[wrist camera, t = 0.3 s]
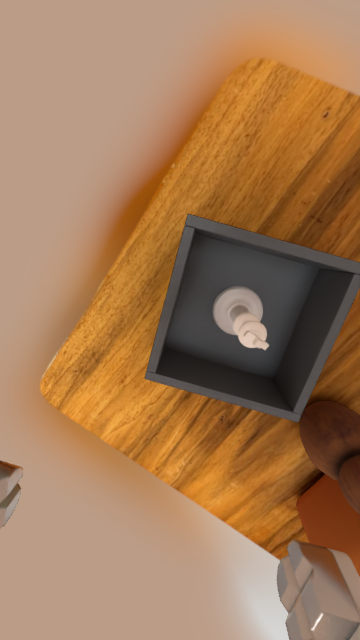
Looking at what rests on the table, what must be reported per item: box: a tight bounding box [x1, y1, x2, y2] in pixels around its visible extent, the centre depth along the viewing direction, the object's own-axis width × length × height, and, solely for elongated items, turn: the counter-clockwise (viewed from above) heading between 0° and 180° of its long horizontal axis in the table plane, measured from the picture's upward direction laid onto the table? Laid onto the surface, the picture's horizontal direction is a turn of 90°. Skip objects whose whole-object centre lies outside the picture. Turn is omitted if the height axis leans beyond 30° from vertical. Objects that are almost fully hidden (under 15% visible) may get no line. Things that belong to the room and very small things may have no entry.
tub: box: [145, 214, 360, 422], centre depth 24 cm, size 14×14×7 cm
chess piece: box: [212, 286, 269, 350], centre depth 22 cm, size 5×5×10 cm
